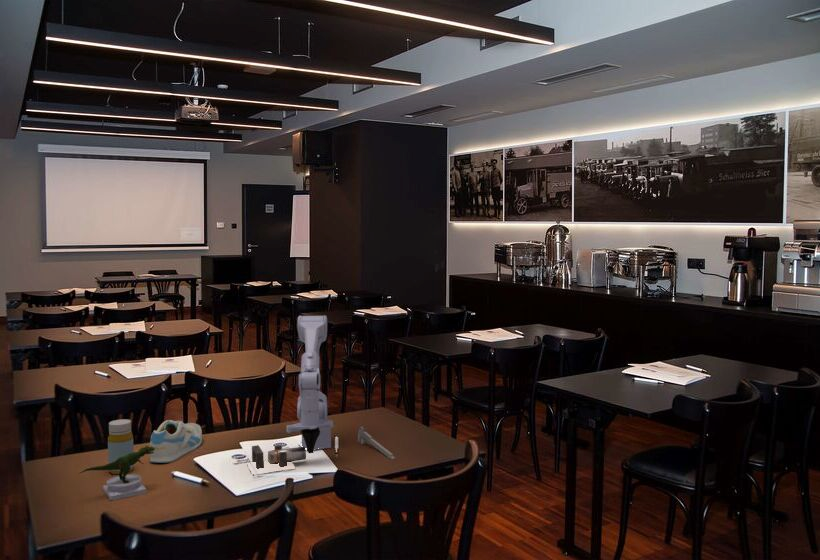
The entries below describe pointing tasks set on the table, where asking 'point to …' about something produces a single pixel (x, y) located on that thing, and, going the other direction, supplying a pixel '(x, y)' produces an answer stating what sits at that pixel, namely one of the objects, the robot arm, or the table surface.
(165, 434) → the sneaker
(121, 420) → the bottle
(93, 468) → the dinosaur figurine
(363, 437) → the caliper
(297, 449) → the tube
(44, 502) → the table surface
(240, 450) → the table surface
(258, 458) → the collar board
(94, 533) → the table surface
